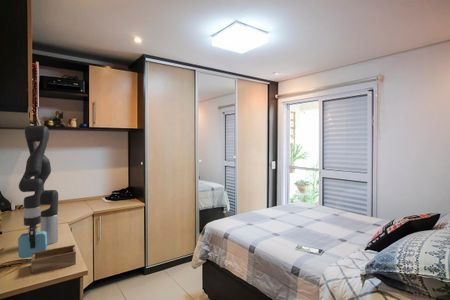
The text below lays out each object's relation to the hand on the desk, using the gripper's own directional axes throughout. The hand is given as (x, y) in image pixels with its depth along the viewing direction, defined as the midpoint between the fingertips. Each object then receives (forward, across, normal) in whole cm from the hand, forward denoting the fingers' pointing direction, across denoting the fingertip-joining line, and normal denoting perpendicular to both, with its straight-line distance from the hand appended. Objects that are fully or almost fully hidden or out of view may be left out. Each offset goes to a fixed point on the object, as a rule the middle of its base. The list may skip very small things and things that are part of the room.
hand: (33, 246), depth 143 cm
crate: (+7, +14, +10) cm, 18 cm away
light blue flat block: (+5, 0, 0) cm, 5 cm away
